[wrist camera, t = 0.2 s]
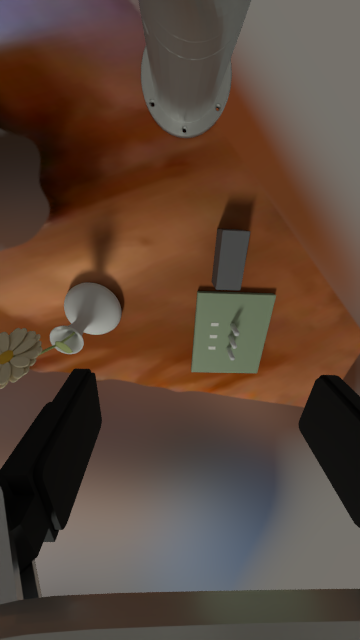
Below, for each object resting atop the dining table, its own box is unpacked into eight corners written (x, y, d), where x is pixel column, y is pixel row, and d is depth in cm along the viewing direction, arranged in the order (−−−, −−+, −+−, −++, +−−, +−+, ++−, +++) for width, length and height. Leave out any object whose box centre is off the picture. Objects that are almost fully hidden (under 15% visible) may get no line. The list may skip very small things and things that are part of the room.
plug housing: (217, 228, 40) (222, 230, 35) (241, 229, 40) (250, 231, 35) (211, 281, 44) (215, 289, 40) (233, 282, 44) (240, 290, 40)
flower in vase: (126, 287, 44) (76, 362, 22) (119, 334, 49) (72, 436, 26) (60, 272, 42) (-70, 336, 20) (59, 322, 47) (-46, 420, 25)
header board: (197, 291, 45) (200, 299, 40) (273, 293, 45) (284, 302, 41) (191, 368, 53) (192, 383, 49) (255, 370, 54) (262, 384, 49)
